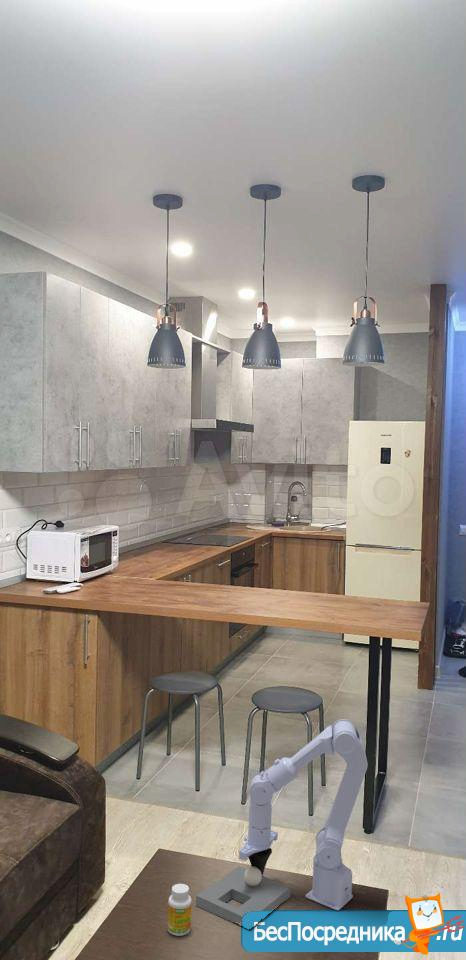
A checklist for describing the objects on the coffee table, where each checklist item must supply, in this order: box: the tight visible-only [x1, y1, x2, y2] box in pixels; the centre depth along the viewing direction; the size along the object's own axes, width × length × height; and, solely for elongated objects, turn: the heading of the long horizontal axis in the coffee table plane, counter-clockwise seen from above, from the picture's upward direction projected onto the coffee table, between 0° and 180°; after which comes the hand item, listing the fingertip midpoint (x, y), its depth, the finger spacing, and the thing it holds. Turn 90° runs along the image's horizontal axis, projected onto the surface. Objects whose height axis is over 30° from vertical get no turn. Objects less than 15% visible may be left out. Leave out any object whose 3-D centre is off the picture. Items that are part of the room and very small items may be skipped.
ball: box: [244, 866, 262, 886], centre depth 196 cm, size 4×4×4 cm
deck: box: [195, 866, 291, 923], centre depth 192 cm, size 16×18×2 cm
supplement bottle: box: [167, 883, 192, 937], centre depth 180 cm, size 5×5×10 cm
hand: (257, 876), depth 198 cm, fingers closed, pressing on ball
